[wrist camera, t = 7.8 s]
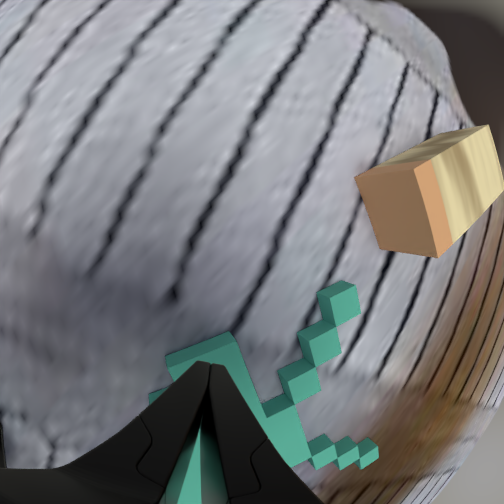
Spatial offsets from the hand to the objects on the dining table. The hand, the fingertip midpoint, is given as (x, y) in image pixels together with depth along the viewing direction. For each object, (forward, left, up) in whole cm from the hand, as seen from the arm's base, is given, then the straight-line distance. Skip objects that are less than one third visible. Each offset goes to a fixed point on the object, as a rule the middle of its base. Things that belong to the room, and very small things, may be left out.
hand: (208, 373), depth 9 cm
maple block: (+10, -11, -7) cm, 17 cm away
